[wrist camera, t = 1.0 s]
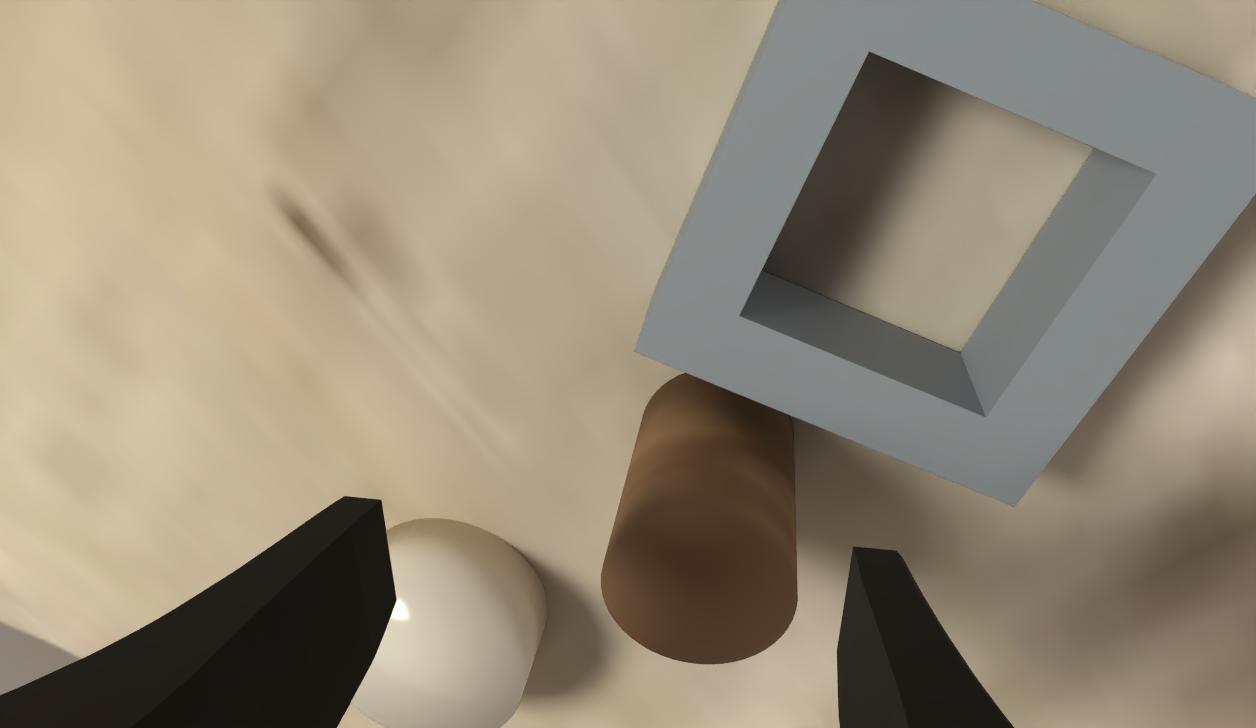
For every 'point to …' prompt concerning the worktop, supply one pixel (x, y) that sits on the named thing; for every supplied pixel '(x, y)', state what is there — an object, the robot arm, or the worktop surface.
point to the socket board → (1039, 286)
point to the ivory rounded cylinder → (454, 630)
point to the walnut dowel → (705, 527)
